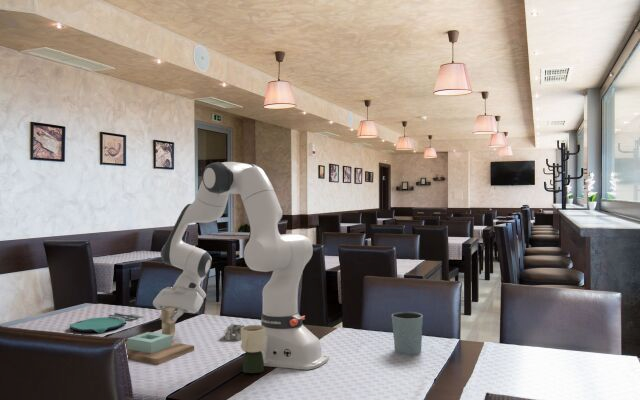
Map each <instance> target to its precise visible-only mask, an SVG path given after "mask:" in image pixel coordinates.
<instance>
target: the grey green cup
mask: <svg viewBox="0 0 640 400" xmlns="http://www.w3.org/2000/svg"><path fill="white" fill-rule="evenodd" d="M423 317H424V315H423V314H422V313H420V312H415V311H399V312H398V311H397V312H394V313H392V314H391V322H392V323H391V324H392V333H393V341H394V343H393V345H394V352H395V353H396V354H398V355H402V356H415V355H420V354H421V353H422V339H423V330H422V328H423Z"/></svg>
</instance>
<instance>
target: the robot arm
mask: <svg viewBox="0 0 640 400" xmlns="http://www.w3.org/2000/svg"><path fill="white" fill-rule="evenodd" d="M230 195H240V198H241V201H242V204H243V207H244V210H245V213H246V215H247V219H248V222H249V225H250V234H249V235H250V236H249V240H248V242H247V243H246V245H245V247H244V250H243V258H244V261H245V264H246V266H247V267H248V268H249V269H250V270H252V271H255V272H264V273H268V272H272V273H271V277H270V279H269V280H268V281H267V283H266V284H265V285H264V287H262V312H261V317H260V320H261V321H260V322H261V324H260V325H261V326H264V327H265V349H264V350H263V351H261V352H262V355H263V361H264V367H274V368H284V369H295V370H307V371H308V370H313V369H316V368H318V367H321V366H323V365H324V364H326V363H327V362H328V361H329V359H330V358H329V354H327V353H324V352H322V347H321V346H322V345H321V341H320V339H319V338H318V337H317V336H316V335H314V334H313V332H311V331H310V330H309V329H308V328H307V327H306V326H305V325H304V324H303V320H306V318H305V317H306V315H300V313H299V311H298V300H299V299H298V294H299V287H300V286H299V285H300V281H301V278H302V274H303V271H304V269H305V267H306V265H307V264H308V263H309V262H310V260H311V259H312V256H313V252H314V248H313V243H312V241H311V240H310V238H308V237H307V236H306V235H303V234H297V233H286V234H285V233H284V234H281V233H280V231H279V227H278V226H279V225H278V224H279V222H280V221H281V220H282V218H283V210H282V207H281V204H280V202H279V199H278V196H277V194H276V192H275V189H274V187H273V185H272V182H271V181H270V179H269V177H268V176H267V174H266V173H265V171H264V170H263V168H262V167H260V166H258V165H257V164H253V163H250V162H247V163H245V162H237V161H224V162H220V161H217V162H212V163H209V164H207V165H206V166H205V168H204V170H203V173H202V180H201V182H200V184H199V188H198V190H197V194H196V197H195V199H194V201H193V202H192V203H188V204H186V205H185V206H184V207H183V209H182V210H181V212H180V214H179V216H178V218H177V220H176V221H175V223H174V226H173V227H172V229H171V232H170V234H169V236H168V238H167V240H166V241H165V243H164V245H163V247H162V248H161V251H160V258H161V260H162V262H163V263H164V264H165V265H168V266H172V267H175V268H178V269H181V270H182V273H181V274H179V276H178V277H177V279H176V280H175V282H174V284H173V286H166V287H165V288H162V290H160V291H159V293H158V294H157V295H156V297H154V299H153V301H152V305H153V307H154V308H155V309H157V310H160V315H159V319H160V320H161V321H162V308H165V307H170V308H175V315H172V317H171V318H170V319H171V320H172V321H175V323H176V322H177V320H178V318H180V317H181V316H182V315H183V314H184V313H188V314H196V313H198V312H199V310H200V309H201V307H202V305H203V303H204V299H205V298H206V297H207V294H206V292H205V291H204V289H203V288H202V287H201V283H202V281H203V280H204V279H205V278H206V276H207V274H208V273H209V272H210V269H211V267H212V261H213V260H212V259H213V258H212V256H211V255H210V254H209V252H208V251H207V250H204V249H203V248H199V247H197V246H194V245H192V244H189V243H187V242H185V241H184V240H183V237H184V235H185V232H186V230H187V228H188V226H189V225H190V224H195V223H199V224H207V223H212V222H215V221H218V220H219V219H220V218H221V217H222V216H223V214H224V213H225V210H226V207H227V204H228V201H229V200H228V199H229V196H230Z"/></svg>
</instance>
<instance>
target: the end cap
mask: <svg viewBox="0 0 640 400" xmlns="http://www.w3.org/2000/svg"><path fill="white" fill-rule="evenodd" d="M126 342H128V349H130V350H136V351H141V352H147V353H154V352H156V351H159V350H162V349H164V348H167V347H170V346H171V342H172V337H171V335H165V334H162V333H158V332H151V331H146V332H143V333H140V334H136V335H134V336H131V337H128V338H127V340H126Z"/></svg>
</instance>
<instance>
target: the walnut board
mask: <svg viewBox="0 0 640 400" xmlns="http://www.w3.org/2000/svg"><path fill="white" fill-rule="evenodd" d="M124 343H125V344H126V349H127V355H128V358H127V359H130V360H133V361H134V360H135V361H139V362H145V363H148V364H149V363H150V364H155V365H161V364H163V363H166V362H168V361H171V360H173V359H176V358H179V357H181V356H183V355H186V354H188V353H190V352H193V351H195V345H191V344H186V343H180V342H173V341H171V346H170V347H167V348H164V349H162V350H159V351H156V352H154V353H147V352H141V351H136V350H130V349H128V341H124Z"/></svg>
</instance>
